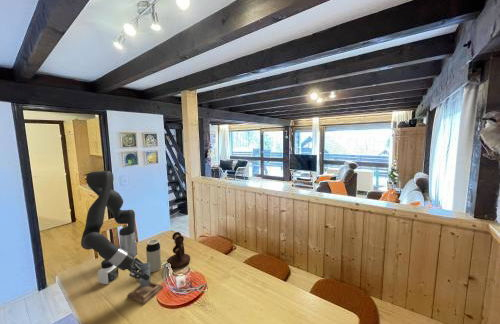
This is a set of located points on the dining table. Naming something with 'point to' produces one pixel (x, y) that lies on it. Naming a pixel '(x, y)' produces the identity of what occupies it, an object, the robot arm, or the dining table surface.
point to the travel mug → (153, 254)
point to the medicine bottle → (107, 272)
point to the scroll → (178, 252)
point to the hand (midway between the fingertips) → (148, 275)
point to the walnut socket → (144, 292)
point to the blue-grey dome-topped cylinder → (146, 269)
